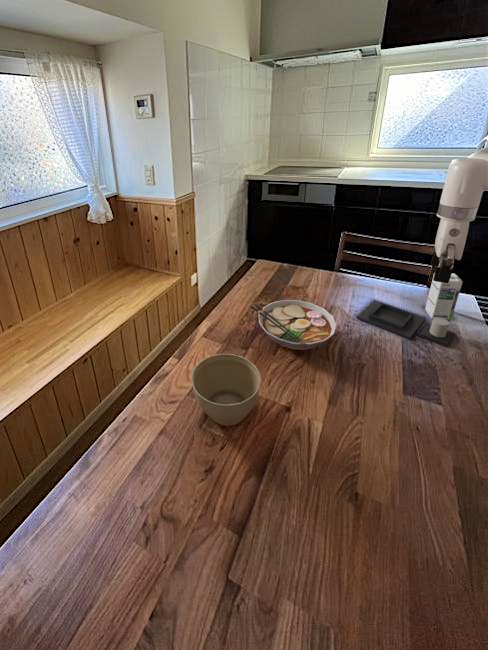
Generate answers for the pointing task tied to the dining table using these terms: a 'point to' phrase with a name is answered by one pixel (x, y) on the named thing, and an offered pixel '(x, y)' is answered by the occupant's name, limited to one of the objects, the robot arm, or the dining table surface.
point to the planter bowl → (226, 387)
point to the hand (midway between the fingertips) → (439, 273)
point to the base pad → (391, 319)
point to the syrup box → (443, 298)
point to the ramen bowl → (296, 323)
